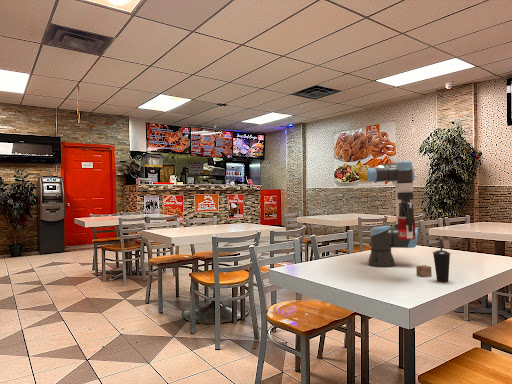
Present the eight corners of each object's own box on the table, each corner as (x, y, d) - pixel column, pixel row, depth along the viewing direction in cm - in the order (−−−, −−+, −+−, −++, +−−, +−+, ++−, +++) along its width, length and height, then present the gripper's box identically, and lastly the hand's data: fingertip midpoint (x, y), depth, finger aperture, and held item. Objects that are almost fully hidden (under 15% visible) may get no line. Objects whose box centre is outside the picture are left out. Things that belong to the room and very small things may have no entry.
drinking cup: (430, 280, 173) (428, 239, 174) (441, 278, 176) (440, 238, 176) (443, 283, 166) (441, 241, 166) (455, 282, 169) (453, 239, 169)
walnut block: (416, 275, 185) (416, 265, 185) (425, 274, 186) (424, 265, 186) (422, 277, 180) (422, 267, 180) (431, 276, 181) (431, 266, 181)
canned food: (417, 239, 174) (416, 217, 174) (400, 239, 175) (399, 217, 176) (413, 237, 181) (412, 216, 181) (397, 237, 183) (396, 216, 183)
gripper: (391, 192, 189) (392, 235, 189) (404, 191, 169) (406, 240, 168) (405, 191, 189) (407, 234, 188) (420, 191, 168) (422, 239, 168)
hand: (406, 237), depth 178 cm, fingers closed on canned food, 8 cm apart
